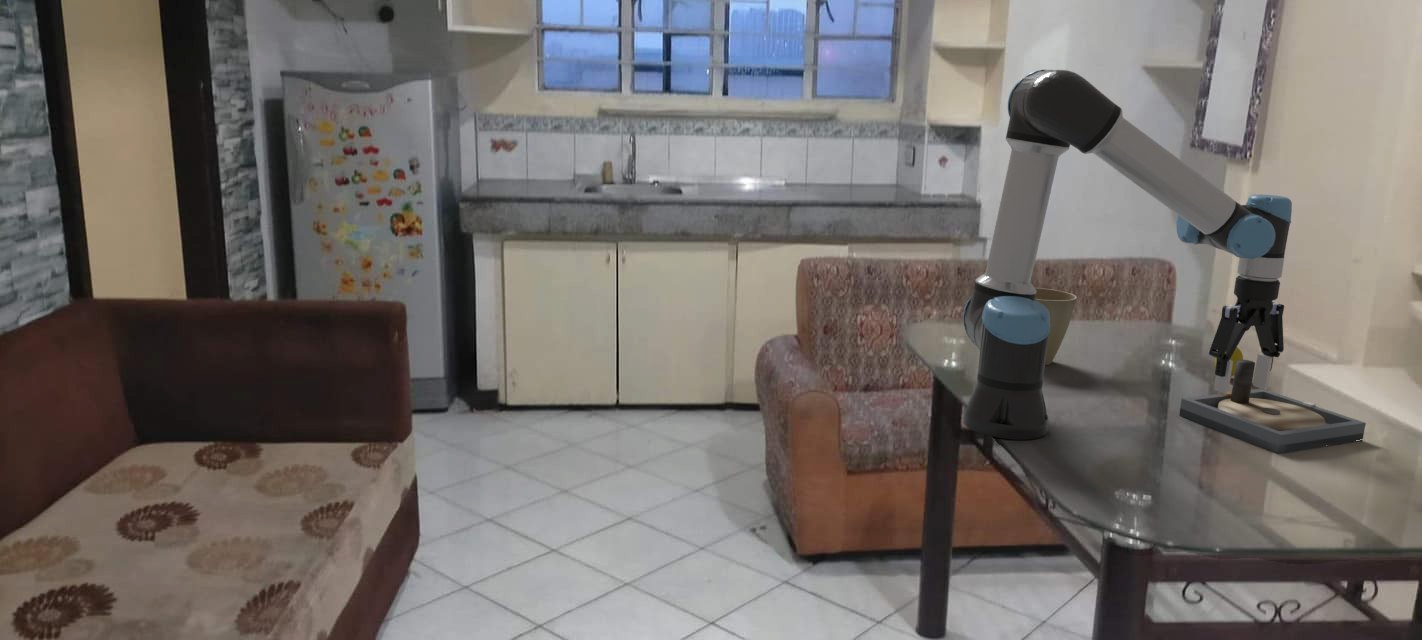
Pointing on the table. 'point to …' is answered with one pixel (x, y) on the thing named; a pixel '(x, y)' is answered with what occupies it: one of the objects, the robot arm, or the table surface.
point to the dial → (1265, 405)
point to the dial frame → (1331, 433)
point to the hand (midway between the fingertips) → (1240, 389)
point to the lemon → (1234, 359)
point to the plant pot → (1056, 317)
